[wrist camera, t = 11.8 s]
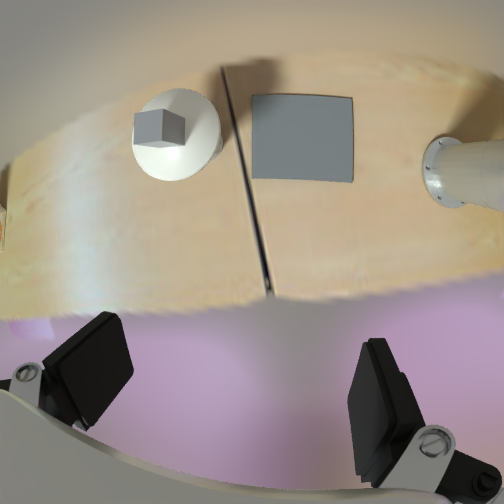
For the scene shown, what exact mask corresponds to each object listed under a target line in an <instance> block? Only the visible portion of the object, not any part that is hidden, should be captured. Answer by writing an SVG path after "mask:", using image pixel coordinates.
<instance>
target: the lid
mask: <svg viewBox="0 0 504 504" xmlns="http://www.w3.org/2000/svg"><path fill="white" fill-rule="evenodd" d="M220 136H221V124H220V118H219V116H218V113H217V111H216V109H215V107H214V106H213V104H212V103H211V102H210V101H209V100H208V99H207V98H205V97H204V96H203V95H201V94H200V93H198V92H196V91H193V90H190V89H180V88H179V89H172V90H168V91H165V92H163V93H161V94H159V95H157V96H156V97H154V98H153V99H151V100H150V101H149V102H148V103H147V104H146V105H145V106H144V108H143V109H142V110H141V112H140V113H135V116H134V128H133V133H132V147H133V152H134V155H135V158H136V160H137V162H138V164H139V165H140V166H141V168H142V169H143V170H144V171H145V172H146V173H148V174H149V175H151V176H153V177H155V178H157V179H160V180H166V181H174V180H182V179H186V178H188V177H191V176H193V175H195V174H196V173H198V172H199V171H201V170H202V169H203V168H204V167H205V166H206V165H207V164H208V163H209V162H210V160H211V159H212V157H213V156H214V154H215V152H216V150H217V148H218V145H219V141H220Z"/></svg>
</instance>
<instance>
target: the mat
mask: <svg viewBox="0 0 504 504" xmlns="http://www.w3.org/2000/svg"><path fill="white" fill-rule="evenodd" d="M352 177H353V119H352V99H348V98H338V97H326V96H309V95H252V178H264V179H299V180H320V181H336V182H349V183H352Z"/></svg>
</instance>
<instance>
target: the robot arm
mask: <svg viewBox="0 0 504 504" xmlns="http://www.w3.org/2000/svg"><path fill="white" fill-rule="evenodd" d="M439 143H440V144H439ZM426 167H427V169H426ZM422 173H423V179H424V183H425V185H426V188H427V190H428V192H429V194H430V195H431V196H432V198H433V199H434V200H435V201H436V202H438V203H439V204H441V205H442V206H445V207H448V208H459V207H461V206H463V205H465V204H466V203H470V204H474V205H478V206H482V207H485V208H489V209H493V210H497V211H500V212H504V139H499V140H489V141H479V142H471V143H462V142H461V141H459V140H458V139H455V138H453V137H442V138H438V139H436V140H434V141H433V142H432V143H431V144H430V145H429V146H428V148H427V149H426V151H425V154H424V157H423V162H422ZM42 362H43V365H44V367H45V369H44V370H42V368H41V366H40V365H38V364H37V363H34V362H29V363H24V364H22V365H20V366H19V367H18V368H16V370H15V371H14V373H13V376H12V379H7V380H0V504H504V488H503V487H502V486H501V484H502V476H501V474H500V472H499V470H498V469H497V468H495V467H494V466H492V465H490V464H487V463H485V462H482V461H480V460H477V459H475V458H473V457H471V456H468V455H465V454H464V453H462V452H459V451H457V450H455V446H456V442H455V438H454V436H453V434H452V433H451V432H450V431H449V430H448V429H447V428H445V427H443V426H439V425H428V426H426V425H425V422H424V419H423V417H422V414H421V411H420V409H419V406H418V404H417V401H416V399H415V396H414V394H413V391H412V389H411V386H410V384H409V382H408V379H407V377H406V375H405V374H404V373H403V372H400V371H399V368H398V366H397V364H396V362H395V359H394V357H393V355H392V352H391V350H390V348H389V346H388V344H387V341H386V339H385V338H370V339H369V340H368V342H364V343H363V345H362V349H361V353H360V356H359V360H358V364H357V367H356V371H355V374H354V378H353V382H352V385H351V388H350V391H349V394H348V402H347V403H348V410H349V418H350V424H351V433H352V441H353V450H354V460H355V471H356V475H361V482H362V483H363V482H371V486H372V487H373V488H364V489H340V490H296V489H279V488H266V487H256V486H249V485H242V484H234V483H229V482H223V481H218V480H213V479H208V478H203V477H200V476H195V475H191V474H187V473H184V472H180V471H176V470H173V469H169V468H166V467H163V466H160V465H156V464H154V463H151V462H148V461H145V460H142V459H139V458H137V457H134V456H132V455H129V454H127V453H124V452H121V451H119V450H117V449H115V448H112V447H110V446H108V445H106V444H103V443H101V442H99V441H97V440H95V439H93V438H90V437H89V436H87V435H85V434H83V433H81V432H79V431H77V430H75V429H73V427H72V425H73V424H74V423H75V425H76V426H77V427H79V428H80V429H83V430H84V431H87V430H88V429H89V428H90V427H91V426H94V425H95V423H96V422H97V421H98V419H99V418H100V417H101V415H102V414H103V413H104V412H105V410H106V409H107V408H108V406H109V405H110V404H111V402H112V401H113V400H114V399H115V397H116V396H117V395H118V393H119V392H120V391H121V389H122V388H123V387H124V386H125V384H126V383H127V382H128V380H129V379H130V378H131V377H132V375H133V372H134V369H133V365H132V361H131V358H130V354H129V350H128V347H127V343H126V339H125V335H124V331H123V327H122V323H121V320H120V318H119V317H118V315H117V314H115V313H111V312H106V311H104V312H102V313H100V314H99V315H98V316H97V317H95V318H94V319H93V320H92V321H90V322H89V323H88V324H87V325H85V326H84V327H83V328H81V329H80V330H79V331H78V332H76V333H75V334H74V335H73V336H72V337H70V338H69V339H68V340H67V341H66V342H64V343H63V344H62V345H61V346H59V347H58V348H57V349H56V350H55V351H53V352H52V353H51V354H50V355H49V356H48V357H46V358H45V359H44V360H43V361H42Z"/></svg>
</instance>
